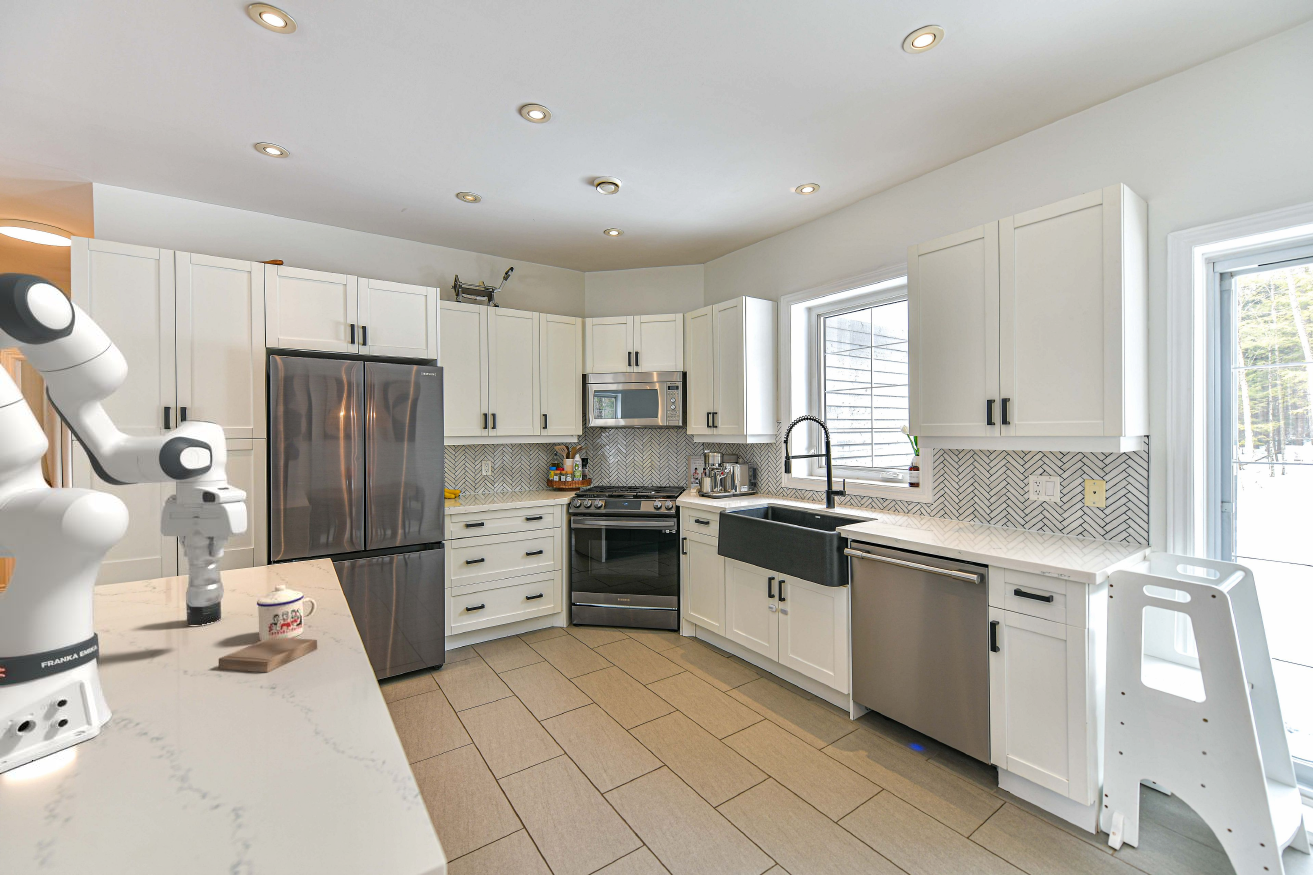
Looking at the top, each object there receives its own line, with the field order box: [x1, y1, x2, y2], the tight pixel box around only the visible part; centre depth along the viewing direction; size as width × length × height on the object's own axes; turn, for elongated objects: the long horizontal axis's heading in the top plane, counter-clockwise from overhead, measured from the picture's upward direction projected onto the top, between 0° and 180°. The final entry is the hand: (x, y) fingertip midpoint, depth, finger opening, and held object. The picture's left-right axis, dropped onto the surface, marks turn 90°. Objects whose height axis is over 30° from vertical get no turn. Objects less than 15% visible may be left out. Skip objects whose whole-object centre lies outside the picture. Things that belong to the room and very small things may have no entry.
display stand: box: [218, 637, 318, 673], centre depth 118 cm, size 12×12×2 cm
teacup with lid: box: [256, 584, 317, 641], centre depth 132 cm, size 12×9×12 cm
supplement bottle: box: [185, 590, 222, 626], centre depth 143 cm, size 7×7×12 cm
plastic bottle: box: [184, 517, 225, 607], centre depth 124 cm, size 6×7×20 cm
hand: (203, 556), depth 124 cm, fingers closed on plastic bottle, 6 cm apart
